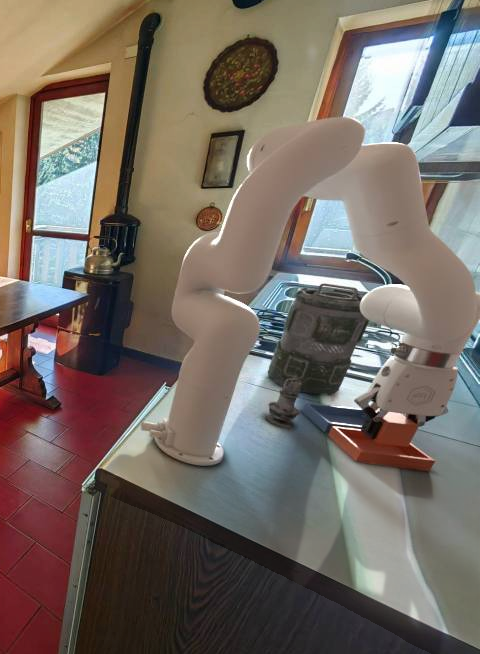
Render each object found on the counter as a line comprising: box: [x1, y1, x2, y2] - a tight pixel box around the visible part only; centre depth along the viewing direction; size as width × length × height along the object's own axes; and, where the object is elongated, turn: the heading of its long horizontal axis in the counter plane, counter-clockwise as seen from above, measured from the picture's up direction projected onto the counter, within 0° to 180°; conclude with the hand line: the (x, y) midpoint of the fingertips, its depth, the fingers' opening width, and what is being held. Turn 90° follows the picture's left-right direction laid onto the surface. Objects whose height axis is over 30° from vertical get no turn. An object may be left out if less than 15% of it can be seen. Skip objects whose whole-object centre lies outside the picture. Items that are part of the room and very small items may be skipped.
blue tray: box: [301, 402, 367, 434], centre depth 89 cm, size 12×9×2 cm
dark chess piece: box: [264, 376, 302, 429], centre depth 89 cm, size 6×6×12 cm
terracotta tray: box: [327, 426, 436, 472], centre depth 80 cm, size 12×9×2 cm
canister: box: [267, 283, 371, 396], centre depth 104 cm, size 16×16×28 cm
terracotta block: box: [373, 409, 420, 447], centre depth 78 cm, size 5×5×5 cm
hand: (384, 436), depth 79 cm, fingers closed on terracotta block, 5 cm apart
